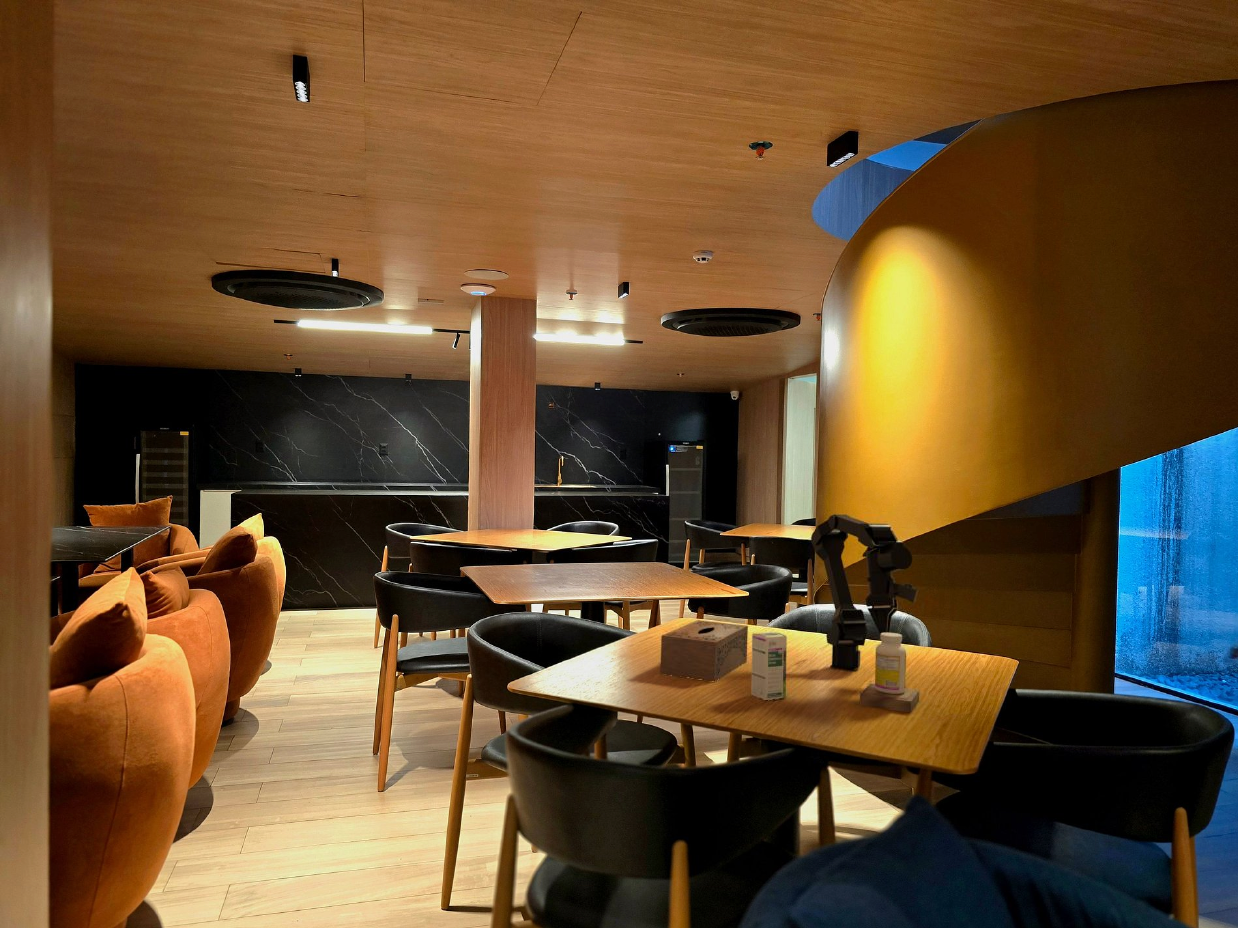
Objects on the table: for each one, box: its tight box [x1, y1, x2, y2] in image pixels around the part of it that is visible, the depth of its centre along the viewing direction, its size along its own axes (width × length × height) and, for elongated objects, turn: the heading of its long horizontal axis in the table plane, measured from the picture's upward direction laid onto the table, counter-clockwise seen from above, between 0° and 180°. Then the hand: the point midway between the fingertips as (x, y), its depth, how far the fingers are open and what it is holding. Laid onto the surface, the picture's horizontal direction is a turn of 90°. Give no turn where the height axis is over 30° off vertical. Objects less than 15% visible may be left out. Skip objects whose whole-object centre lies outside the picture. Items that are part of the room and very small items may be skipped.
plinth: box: [859, 682, 920, 714], centre depth 192 cm, size 11×11×3 cm
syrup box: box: [750, 631, 788, 701], centre depth 194 cm, size 6×6×14 cm
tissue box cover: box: [659, 619, 749, 683], centre depth 221 cm, size 26×14×10 cm, turn 154°
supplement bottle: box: [874, 632, 907, 694], centre depth 192 cm, size 7×7×13 cm
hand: (885, 637), depth 207 cm, fingers open, 9 cm apart
